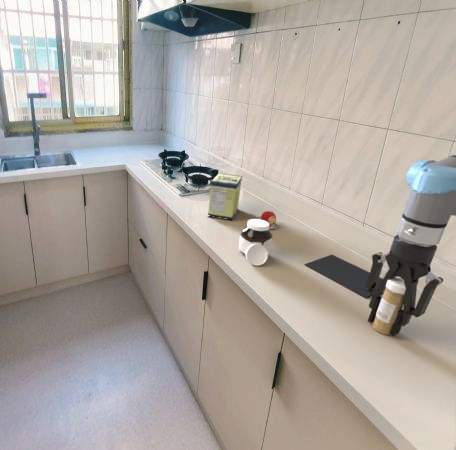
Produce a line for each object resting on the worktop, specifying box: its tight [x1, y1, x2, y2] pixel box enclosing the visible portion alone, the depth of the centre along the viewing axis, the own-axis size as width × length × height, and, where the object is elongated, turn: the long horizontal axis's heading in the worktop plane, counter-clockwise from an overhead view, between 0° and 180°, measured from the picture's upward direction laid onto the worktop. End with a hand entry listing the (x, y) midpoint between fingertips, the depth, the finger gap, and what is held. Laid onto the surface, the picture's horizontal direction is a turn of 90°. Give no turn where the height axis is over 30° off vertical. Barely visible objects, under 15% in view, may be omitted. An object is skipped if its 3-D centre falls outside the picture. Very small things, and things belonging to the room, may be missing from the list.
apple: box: [260, 210, 279, 230], centre depth 135 cm, size 8×8×6 cm
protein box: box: [207, 172, 243, 220], centre depth 145 cm, size 10×16×16 cm
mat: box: [304, 254, 383, 299], centre depth 104 cm, size 20×14×1 cm
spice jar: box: [371, 276, 406, 336], centre depth 78 cm, size 5×5×14 cm
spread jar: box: [238, 218, 273, 267], centre depth 109 cm, size 12×11×12 cm
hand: (383, 326), depth 81 cm, fingers closed on spice jar, 4 cm apart
